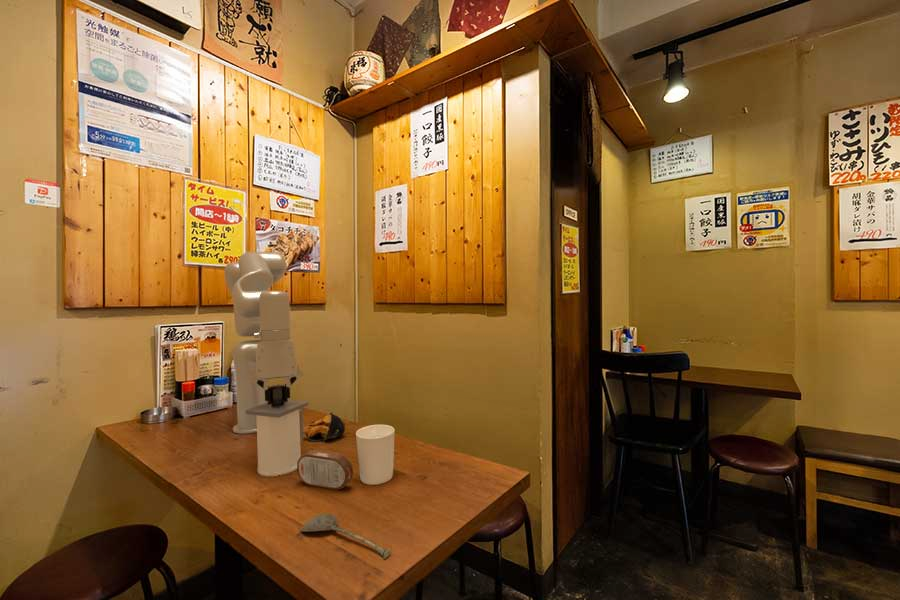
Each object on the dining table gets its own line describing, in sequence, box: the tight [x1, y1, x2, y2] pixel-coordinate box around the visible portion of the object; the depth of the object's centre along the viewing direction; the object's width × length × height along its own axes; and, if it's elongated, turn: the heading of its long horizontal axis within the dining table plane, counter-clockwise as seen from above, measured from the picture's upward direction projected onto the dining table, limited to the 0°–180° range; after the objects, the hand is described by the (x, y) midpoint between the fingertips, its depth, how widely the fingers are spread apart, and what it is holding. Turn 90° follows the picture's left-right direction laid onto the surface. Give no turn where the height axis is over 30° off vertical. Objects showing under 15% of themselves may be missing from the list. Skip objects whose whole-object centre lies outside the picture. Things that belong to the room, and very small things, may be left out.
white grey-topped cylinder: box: [246, 399, 309, 477], centre depth 108 cm, size 14×11×17 cm
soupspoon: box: [300, 513, 391, 560], centre depth 75 cm, size 22×3×7 cm
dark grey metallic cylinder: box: [269, 384, 285, 408], centre depth 107 cm, size 8×8×17 cm
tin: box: [296, 449, 354, 491], centre depth 96 cm, size 15×3×8 cm, turn 71°
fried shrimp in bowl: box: [303, 412, 346, 442], centre depth 126 cm, size 9×11×18 cm
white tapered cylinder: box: [355, 424, 396, 486], centre depth 100 cm, size 10×10×12 cm
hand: (277, 401), depth 107 cm, fingers closed on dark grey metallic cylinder, 3 cm apart
